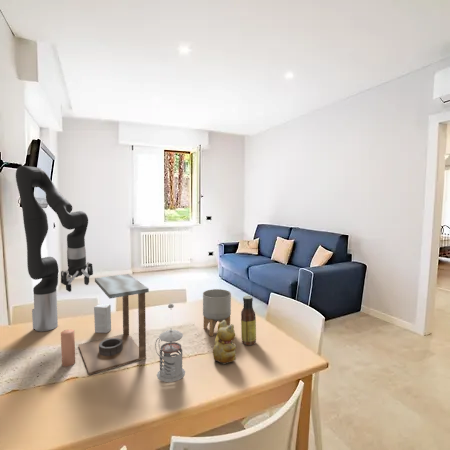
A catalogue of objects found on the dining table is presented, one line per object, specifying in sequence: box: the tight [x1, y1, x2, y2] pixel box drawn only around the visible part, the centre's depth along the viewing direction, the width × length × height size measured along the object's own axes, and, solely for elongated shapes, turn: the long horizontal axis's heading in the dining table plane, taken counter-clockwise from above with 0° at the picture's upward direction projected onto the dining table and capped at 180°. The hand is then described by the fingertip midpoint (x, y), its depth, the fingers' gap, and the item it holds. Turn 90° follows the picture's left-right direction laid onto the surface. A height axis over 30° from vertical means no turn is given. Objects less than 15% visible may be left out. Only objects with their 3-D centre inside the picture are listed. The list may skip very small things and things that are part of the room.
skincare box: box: [93, 303, 112, 334], centre depth 137 cm, size 6×4×12 cm
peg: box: [60, 328, 76, 368], centre depth 109 cm, size 4×4×12 cm
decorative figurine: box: [212, 320, 237, 365], centre depth 112 cm, size 10×8×15 cm
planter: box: [202, 288, 232, 337], centre depth 138 cm, size 13×13×18 cm
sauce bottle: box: [240, 295, 257, 346], centre depth 126 cm, size 6×6×20 cm
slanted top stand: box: [78, 273, 150, 376], centre depth 117 cm, size 21×26×27 cm
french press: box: [154, 303, 186, 383], centre depth 103 cm, size 10×12×25 cm
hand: (78, 287), depth 138 cm, fingers open, 8 cm apart
